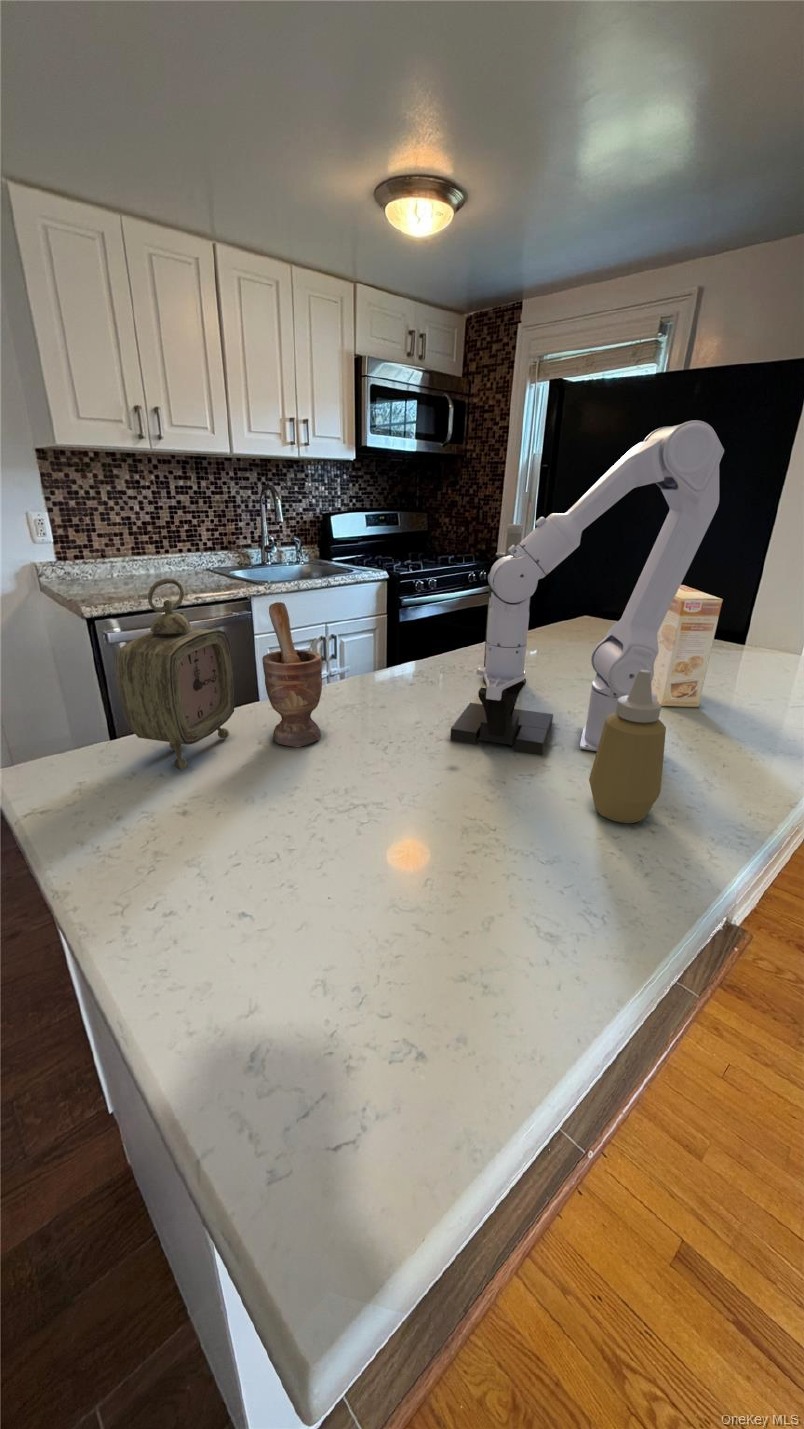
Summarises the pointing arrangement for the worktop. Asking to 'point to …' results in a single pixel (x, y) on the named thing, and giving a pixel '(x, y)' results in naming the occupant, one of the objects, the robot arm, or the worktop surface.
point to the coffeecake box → (685, 647)
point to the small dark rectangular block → (508, 734)
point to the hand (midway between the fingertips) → (499, 728)
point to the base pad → (528, 735)
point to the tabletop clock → (176, 680)
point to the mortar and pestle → (292, 684)
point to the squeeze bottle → (630, 756)
